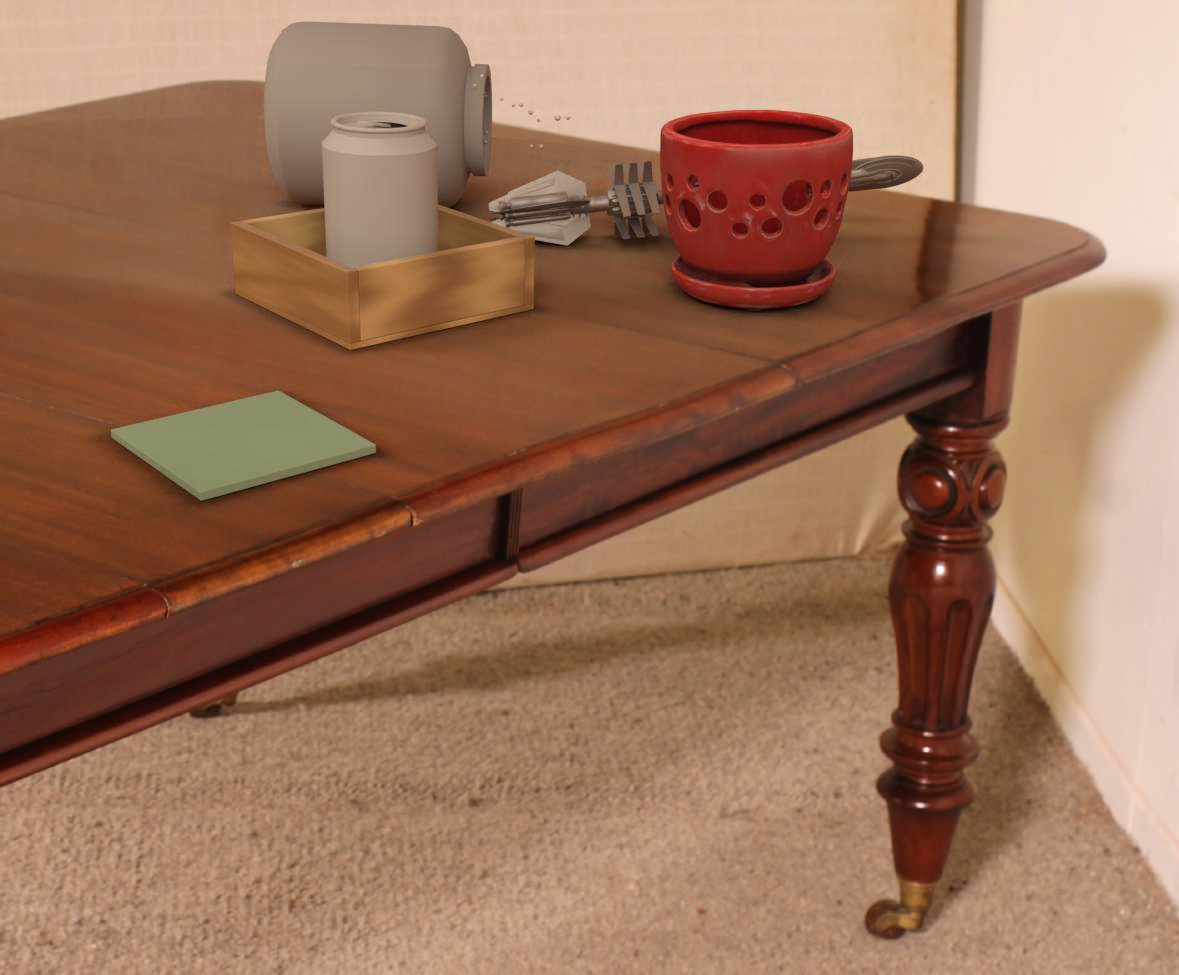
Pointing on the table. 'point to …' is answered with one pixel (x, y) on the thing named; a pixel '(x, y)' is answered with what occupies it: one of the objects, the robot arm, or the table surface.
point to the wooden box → (383, 278)
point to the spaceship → (638, 199)
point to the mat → (241, 444)
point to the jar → (374, 98)
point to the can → (379, 188)
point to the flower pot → (754, 204)
